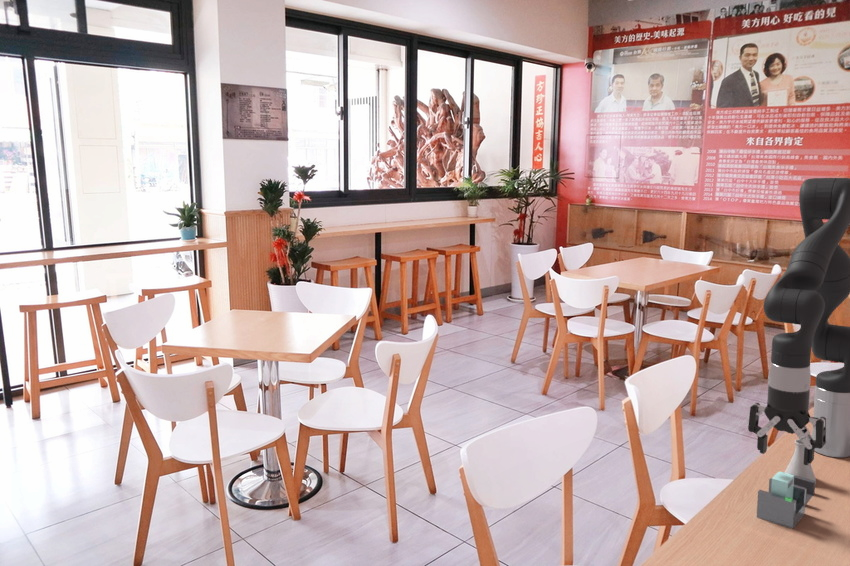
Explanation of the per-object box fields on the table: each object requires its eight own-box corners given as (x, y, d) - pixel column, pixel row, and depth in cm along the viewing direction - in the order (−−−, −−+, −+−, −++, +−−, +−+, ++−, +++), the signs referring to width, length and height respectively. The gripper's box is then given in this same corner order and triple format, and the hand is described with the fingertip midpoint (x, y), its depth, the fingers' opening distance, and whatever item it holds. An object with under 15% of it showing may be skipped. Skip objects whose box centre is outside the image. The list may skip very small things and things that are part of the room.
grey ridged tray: (790, 488, 152) (791, 473, 152) (814, 495, 149) (815, 480, 148) (778, 501, 147) (779, 486, 146) (803, 509, 143) (804, 493, 142)
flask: (822, 489, 151) (825, 449, 149) (787, 487, 153) (790, 447, 151) (810, 475, 158) (813, 436, 156) (778, 473, 159) (780, 434, 158)
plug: (776, 505, 142) (778, 470, 141) (792, 510, 140) (794, 475, 139) (769, 513, 139) (771, 478, 138) (785, 518, 137) (787, 482, 136)
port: (769, 505, 145) (771, 475, 144) (804, 516, 140) (806, 485, 139) (755, 520, 140) (757, 489, 138) (792, 532, 135) (794, 500, 133)
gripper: (833, 386, 132) (828, 461, 135) (758, 372, 142) (754, 443, 145) (822, 397, 127) (817, 474, 130) (745, 382, 137) (742, 454, 140)
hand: (784, 458), depth 138 cm, fingers open, 8 cm apart
